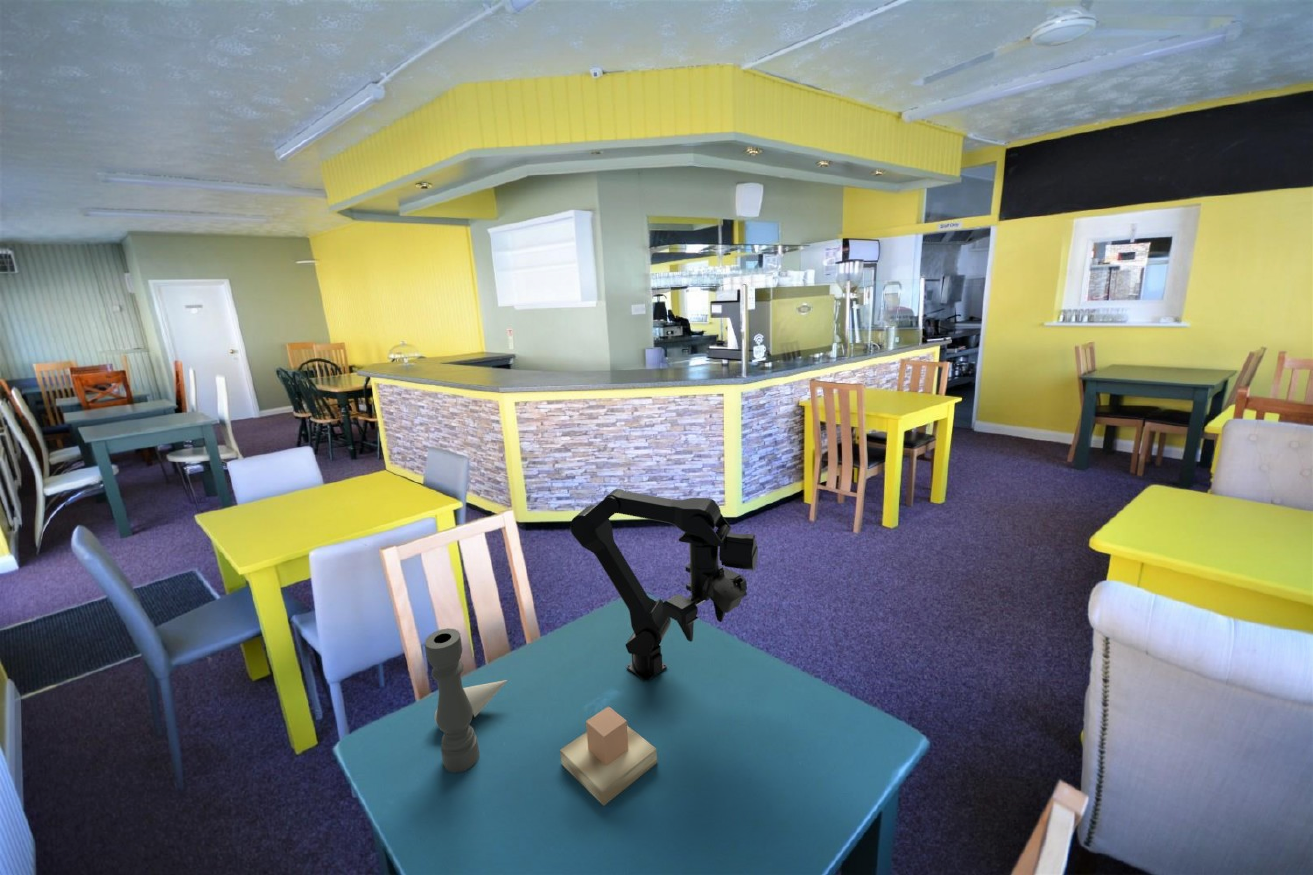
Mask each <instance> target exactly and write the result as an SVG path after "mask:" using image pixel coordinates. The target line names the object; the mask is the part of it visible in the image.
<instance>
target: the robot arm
mask: <svg viewBox="0 0 1313 875" xmlns="http://www.w3.org/2000/svg"><path fill="white" fill-rule="evenodd" d="M615 514H621V515H624V516H630V517H635V518H636V517H637V518H640V519H647V520H652V521H657V522H663V523H666V524H667V523H668V524H671V525H673V526H675V527H676V528H678V529H679V530H680V531H682V533H681V535H680V536H679V538H678V542H679V543H687V544H688V545H689V546H688V547H689V549H688V550H689V564H687V565H686V566H685V568H684V569H685V571H686V572H687V573H689V582H688V583H686V584H685V590H687V591H689V592H690V594H691V595H689V596H687V597H685V596H684V595H682V594H679V593H677V594H675V595H672V596H671V597H669V598H668V599H666V600H664V601H663V599H661V598H659V599H657V600H655V599H652V598H651V597H649V595H648V594H647V593H646V590H645V588H643V586H642V584H641V583H640V581H639V579H638V578H637V576H636V574H635V573H634V572H633V569H632V568H631V566H630V564H629V563H628V562H627V560H626V558H625V556H624V555H623V553H622V551H621V550H620V549H619V547H618V545H617V544H616V542H615V539H614V532H613V525H612V522H611V521H610V518H612V516H614V515H615ZM715 527H717V529H716V531H715V530H714V529H715ZM731 529H732V526H731V525H730V524H729V522H728V521H727V519H726V518H725V517H724V516H723V514H722V513H721V509H720V506H719V505H718V503H717V502H716V500H714V499H712V498H708V497H690V498H684V499H671V498H665V497H660V496H656V495H655V496H654V495H649V494H643V493H638V492H632V491H625V490H624V489H622V488H616V489H613V490H612V491H611V492H609V493H608V494H607V495H606V496H605V497H604V499H602V501H600V502H599V503H597V504H590V505H588V506H586V507H585V508H584V509H582V511H580V512H579V513H578V514H577V515H575V516H574V517H573V518H572V519H571V521H570V525H569V531H570V533H571V535H572V536H573V537H574V538H575V539H576V541H577V542H578V543H579V544H580V546H581V547H582V548H584V549H586V550H587V551H589V552H591V553H592V554H594V556H595V557H596V559H597V560H598V562H599V563H600V565H601V567H602V569H603V570H604V572H605V573H606V575H607V577H608V578H609V580H610V582H611V583H612V584H613V585H612V586H614V589H615V590H616V591H617V592H618V595H619V597H621V599H622V601H623V603H624V604H625V606H626V607H627V609H628V611H629V617H630V618H629V619H630V626H631V628H632V631H633V632H632V634H631V635H630V637H629V639H628V640H627V642H625V644H624V645H625V647H626V651H627V652H628V654H631V663H629V664H627V665H626V669H627V670H628V671H629V672H630V673H633V674H635V675H636V676H637V677H638V678H640V679H641V680H643V681H644V682H647V681H649V680H651V679H652V678H654V677H655V676H657V675H659V674H660V673H661V672H664V670H666V669H667V667H668V665H667V664H666V663H664V662H663V654H662V647H661V645H660V644H662V642H663V639H664V638H665V636H666V634H667V632H668V630H669V628H670V626H671V624H672V621H671V619H672V620H674V621H675V622H677V624H678V625H679V627H680V629H681V631H682V633H683V635H684V637H685V638H686V640H687V641H689V642H690V643H692V642H693V640H694V639H693V638H694V629H695V628H694V627H695V625H694V624H695V621H696V620H698V619H699V616H697V615H698V613H699V612H698V610H699V609H698V606H699V605H701V604H703V603H704V602H708V601H709V600H711V601H712V603H713V607H714V613H715V617H716V620H717V622H719V623H723V620H724V619H725V615H726V614H727V613H730V612H731V611H732V610H733V609H735V608H737V607H740V603H741V601H742V599H743V598H744V597H746V596H747V595H748V593H747V589H748V586H747V585H748V584H747V579H746V578H744V576H742V575H741V573H738V572H736V571H733V570H731V569H728V568H733V569H739V570H746V571H755V570H756V567H757V563H758V554H759V546H758V544H757V540H756V535H755V533H754V534H753V533H745V534H744V533H736V532H735V533H734V532H730V531H731ZM719 562H721V563H720V564H721V565H719ZM635 675H634V676H635Z"/></svg>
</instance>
